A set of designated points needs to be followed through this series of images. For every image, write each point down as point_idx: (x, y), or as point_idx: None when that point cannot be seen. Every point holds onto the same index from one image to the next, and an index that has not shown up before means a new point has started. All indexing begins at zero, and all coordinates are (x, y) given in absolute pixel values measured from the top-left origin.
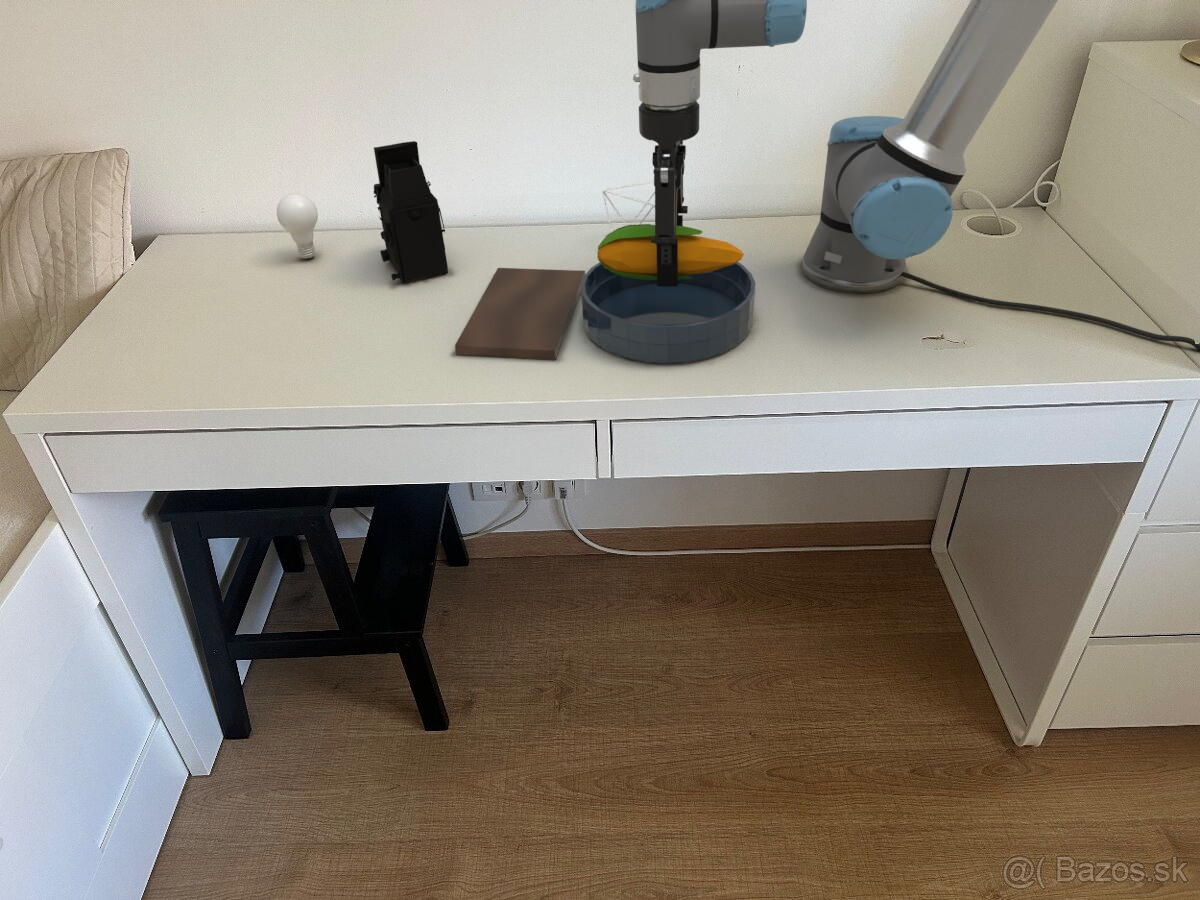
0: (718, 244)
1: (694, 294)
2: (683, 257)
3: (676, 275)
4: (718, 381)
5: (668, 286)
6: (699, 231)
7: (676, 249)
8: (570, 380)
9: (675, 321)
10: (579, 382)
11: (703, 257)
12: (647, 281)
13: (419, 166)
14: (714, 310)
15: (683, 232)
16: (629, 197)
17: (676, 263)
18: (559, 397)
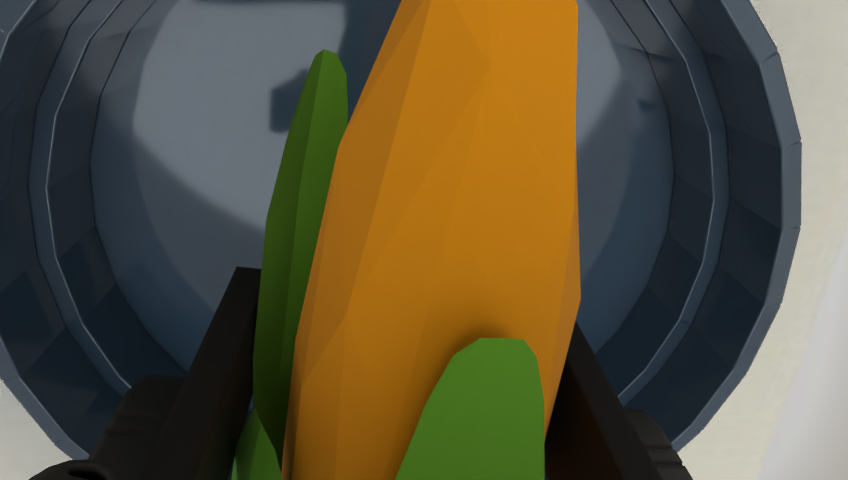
0: (531, 147)
1: (191, 115)
2: (564, 360)
3: (582, 339)
4: (827, 69)
5: (129, 217)
6: (504, 361)
7: (651, 462)
8: (685, 453)
9: None
10: (701, 435)
11: (578, 238)
12: (117, 298)
13: None
14: (335, 38)
15: (514, 475)
16: None
17: (611, 388)
18: (751, 467)
